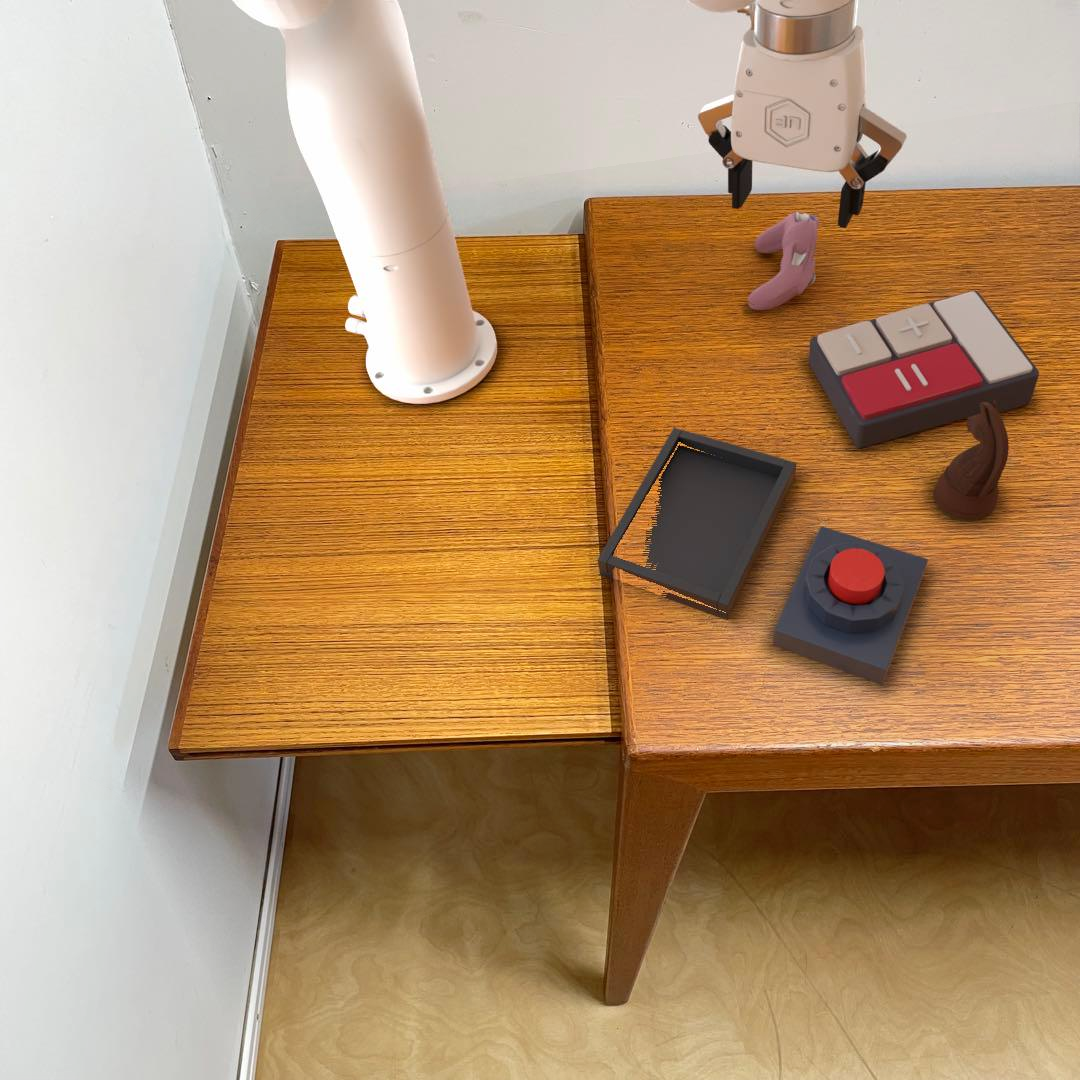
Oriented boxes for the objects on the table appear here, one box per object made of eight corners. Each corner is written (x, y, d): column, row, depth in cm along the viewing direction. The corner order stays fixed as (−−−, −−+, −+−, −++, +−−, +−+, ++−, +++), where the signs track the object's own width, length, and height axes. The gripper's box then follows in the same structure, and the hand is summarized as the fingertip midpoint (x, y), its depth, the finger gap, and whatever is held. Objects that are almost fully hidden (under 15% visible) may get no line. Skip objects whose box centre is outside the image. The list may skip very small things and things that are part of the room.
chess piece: (979, 470, 78) (1010, 380, 70) (1009, 519, 75) (1045, 431, 67) (923, 483, 78) (947, 394, 70) (950, 532, 75) (980, 446, 67)
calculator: (808, 330, 85) (977, 281, 85) (806, 366, 88) (969, 319, 88) (860, 420, 78) (1044, 366, 78) (856, 455, 82) (1032, 404, 81)
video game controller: (786, 328, 93) (827, 275, 87) (742, 309, 92) (781, 255, 86) (792, 260, 98) (831, 206, 93) (751, 242, 98) (788, 187, 92)
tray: (599, 574, 77) (597, 559, 76) (674, 443, 84) (673, 427, 83) (727, 620, 74) (727, 605, 72) (794, 479, 80) (796, 462, 79)
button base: (771, 645, 72) (775, 616, 69) (817, 542, 77) (822, 510, 73) (882, 685, 69) (891, 657, 66) (923, 575, 74) (933, 544, 70)
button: (820, 594, 70) (823, 580, 68) (837, 555, 71) (840, 541, 70) (872, 611, 68) (875, 598, 67) (887, 571, 70) (891, 557, 69)
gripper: (678, 30, 76) (686, 217, 90) (906, 55, 70) (877, 253, 83) (715, -18, 80) (718, 169, 93) (936, 1, 73) (904, 200, 87)
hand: (793, 208), depth 88 cm, fingers open, 9 cm apart
